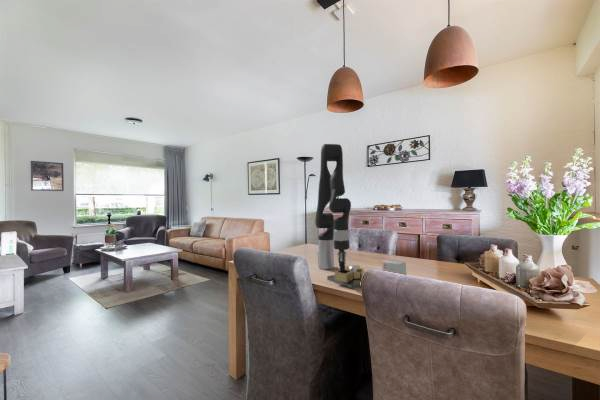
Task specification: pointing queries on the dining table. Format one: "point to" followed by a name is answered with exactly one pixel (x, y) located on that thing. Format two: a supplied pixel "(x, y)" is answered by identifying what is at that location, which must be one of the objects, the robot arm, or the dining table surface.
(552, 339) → the dining table surface
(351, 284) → the nut base plate
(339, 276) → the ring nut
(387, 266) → the small box
